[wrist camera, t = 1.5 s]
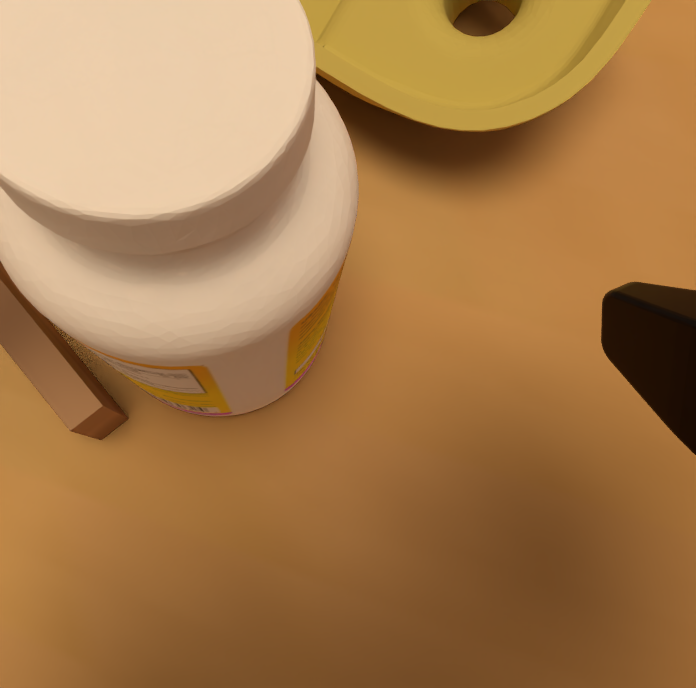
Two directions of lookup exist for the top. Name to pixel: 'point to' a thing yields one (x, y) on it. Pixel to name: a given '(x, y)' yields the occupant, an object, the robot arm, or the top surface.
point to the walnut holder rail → (54, 366)
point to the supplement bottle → (175, 189)
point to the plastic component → (466, 56)
